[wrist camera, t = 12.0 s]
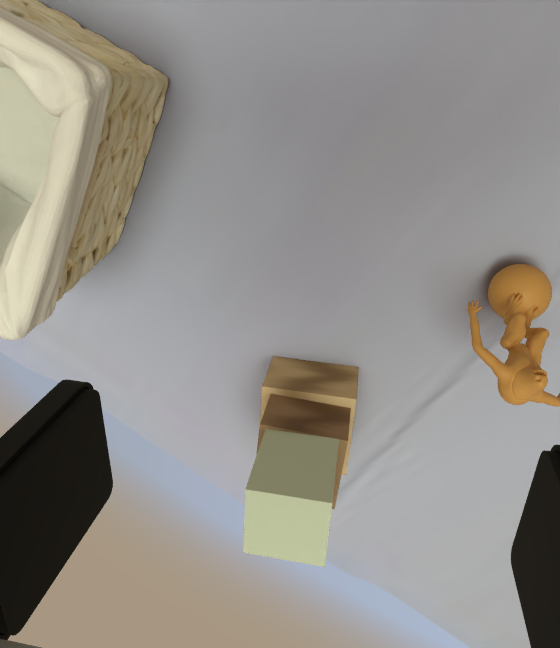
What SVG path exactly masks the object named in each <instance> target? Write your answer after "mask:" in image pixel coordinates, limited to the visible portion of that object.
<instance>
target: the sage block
mask: <svg viewBox="0 0 560 648" xmlns="http://www.w3.org/2000/svg"><path fill="white" fill-rule="evenodd" d="M338 446H339V439H335V438H328V437H321V436H314V435H307V434H300V433H293V432H286V431H280V430H273V429H266V428H265V431H264V434H263V438H262V441H261V444H260V447H259V450H258V453H257V456H256V459H255V462H254V465H253V468H252V471H251V474H250V477H249V480H248V484H247V487H246V492H245V523H244V524H245V525H244V553H250V554H255V555H261V556H267V557H272V558H278V559H283V560H289V561H295V562H300V563H306V564H312V565H318V566H323V567H324V566H325V559H326V551H327V543H328V535H329V527H330V519H331V510H332V502H333V493H334V483H335V474H336V464H337V455H338Z"/></svg>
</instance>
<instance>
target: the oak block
mask: <svg viewBox="0 0 560 648" xmlns="http://www.w3.org/2000/svg"><path fill="white" fill-rule="evenodd" d="M358 369H359V367H353V366H345V365H338V364H330V363H322V362H314V361H307V360H299V359H291V358H284V357H276V356H273V359H272V362H271V364H270V367H269V370H268V372H267V375H266V378H265V380H264V383H263V385H262V399H261V419H260V423H261V420H262V417H263V414H264V411H265V408H266V406H267V403H268V400H269V397H270V394H277V395H282V396H287V397H293V398H298V399H304V400H309V401H314V402H320V403H325V404H331V405H336V406H342V407H347V408H351V412H350V424H349V437H348V444H347V449H346V454H345V459H344V464H343V469H342V475H346V472H347V465H348V458H349V451H350V444H351V436H352V429H353V422H354V415H355V408H356V401H357V386H358Z"/></svg>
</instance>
